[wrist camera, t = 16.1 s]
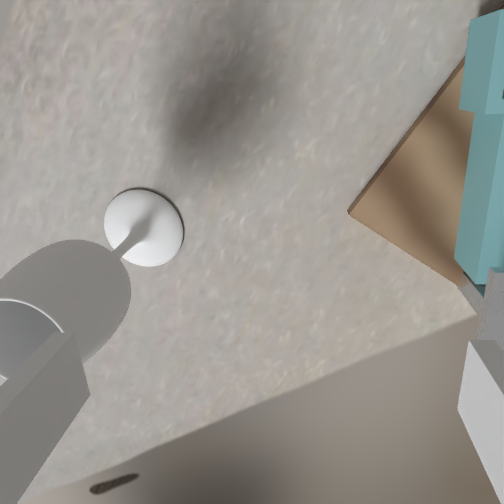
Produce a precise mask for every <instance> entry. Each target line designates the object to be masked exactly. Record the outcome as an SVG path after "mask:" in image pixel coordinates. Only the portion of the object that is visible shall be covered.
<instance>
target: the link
mask: <svg viewBox="0 0 504 504" xmlns="http://www.w3.org/2000/svg"><path fill="white" fill-rule="evenodd" d="M503 90H504V9H501V10H498V11H495V12H492V13H489V14H486V15H483V16H480V17H478V18H475V19H472V20H470V25H469V32H468V40H467V48H466V56H465V64H464V72H463V80H462V87H461V95H460V103H459V109H460V110H465V111H470V112H475V113H474V120H473V127H472V134H471V141H470V148H469V155H468V162H467V169H466V176H465V183H464V190H463V197H462V204H461V211H460V218H459V225H458V233H457V240H456V247H455V254H454V259H455V260H456V261H457V262H458V264H459V265H460V266H461V267H462V269H463V270H464V271H465V272H466V273H467V275H468V276H469V277H470V278H471V279H472V281H473V282H474V283H475V284H486V283H487V277H488V271H489V267H504V94H503Z"/></svg>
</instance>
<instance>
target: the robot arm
mask: <svg viewBox="0 0 504 504" xmlns="http://www.w3.org/2000/svg"><path fill="white" fill-rule="evenodd" d="M89 396H90V392H89V388H88V384H87V380H86V376H85V373H84V369H83V365H82V361H81V357H80V353H79V350H78V346H77V342H76V338H75V334H74V333H59V332H54V333H53V334H52V335H51V336H50V337H49V338H48V339H47V340H46V341H45V342H44V343H43V344H42V345H41V346H40V347H39V348H38V349H37V350H36V351H35V352H34V353H33V354H32V355H31V356H30V357H29V358H28V359H27V360H26V361H25V362H24V363H23V364H22V365H21V366H20V367H19V368H18V369H17V370H16V371H15V372H14V373H13V374H12V375H11V376H10V377H9V378H8V379H7V380H6V382H5V383H4V384H3V385H2V386H1V387H0V504H17V502H18V501H19V499H20V498H21V496H22V495H23V493H24V492H25V490H26V489H27V487H28V486H29V485H30V483H31V482H32V480H33V479H34V477H35V476H36V474H37V473H38V471H39V470H40V468H41V467H42V465H43V464H44V462H45V461H46V459H47V458H48V456H49V455H50V453H51V452H52V451H53V449H54V448H55V446H56V445H57V443H58V442H59V440H60V439H61V437H62V436H63V434H64V433H65V431H66V430H67V428H68V427H69V425H70V424H71V422H72V421H73V419H74V418H75V417H76V415H77V414H78V412H79V411H80V409H81V408H82V406H83V405H84V403H85V402H86V400H87V399H88V397H89ZM457 409H458V412H459V414H460V416H461V418H462V420H463V422H464V425H465V427H466V429H467V431H468V433H469V435H470V438H471V440H472V442H473V444H474V446H475V448H476V451H477V452H478V455H479V457H480V459H481V461H482V463H483V466H484V468H485V470H486V472H487V474H488V476H489V479H490V481H491V483H492V485H493V487H494V489H495V492H496V494H497V496H498V498H499V500H500V503H501V504H504V352H503V350H502V349H501V348H500V346H499V345H498V343H497V342H496V341H495V340H469V344H468V349H467V355H466V361H465V367H464V373H463V378H462V384H461V390H460V396H459V402H458V408H457Z"/></svg>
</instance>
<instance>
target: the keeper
mask: <svg viewBox="0 0 504 504" xmlns="http://www.w3.org/2000/svg"><path fill="white" fill-rule="evenodd" d="M456 286H457V285H456ZM457 287H458V288H459V290H460V291H461V293H462V294H463V295H464V297H465V298H466V299H467V301H468V302H469V304H470V305H471V306H472V308H473V309H474V310H475V312H476V313H477V315H478V316H479V317H480V322H479V328H478V333H477V339H476V340H495V341H496V342H497V343H498V345H499V346H500V348H501V349H502V350H503V352H504V267H489V271H488V277H487V283H486V284H475V283H474V282H473V281H472V279H471V278H470V277H469V276H468V275H467V273H463V276H462V282H461V287H459V286H457Z"/></svg>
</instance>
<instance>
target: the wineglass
mask: <svg viewBox="0 0 504 504" xmlns="http://www.w3.org/2000/svg"><path fill="white" fill-rule="evenodd" d="M104 228H105V233H106V236H107V238H108V241H109V242H110V244H111V246H112V247H113V248H114V250H113V251H112V252H111V251H110V250H108V249H107V248H105V247H103V246H102V245H99V244H97V243H94V242H90V241H86V240H65V241H60V242H57V243H54V244H51V245H49V246H46V247H44V248H42V249H40V250H38V251H37V252H35V253H33V254H32V255H30V256H28V257H27V258H25V259H24V260H23V261H21V262H20V263H18V264H17V265H16V266H15V267H14V268H12V269H11V270H10V271H9V272H8V273H7V274H6V275H5V276H4V277H3V278H2V279H1V280H0V376H1V377H3V378H4V379H6V380H7V379H8V378H9V377H10V376H11V375H12V374H13V373H14V372H15V371H16V370H17V369H18V368H19V367H20V366H21V365H22V364H23V363H24V362H25V361H26V360H27V359H28V358H29V357H30V356H31V355H32V354H33V353H34V352H35V351H36V350H37V349H38V348H39V347H40V346H41V345H42V344H43V343H44V342H45V341H46V340H47V339H48V338H49V337H50V336H51V335H52V334H53V333H54V332H59V333H74V334H75V338H76V342H77V346H78V350H79V353H80V357H81V361H82V365H83V364H84V363H85V362H87V361H88V360H89V359H90V358H91V357H92V356H93V355H95V354H96V353H97V352H98V351H99V350H100V349H101V348H102V347H103V346H104V345H105V344H106V343H107V341H108V340H109V339H110V338H111V337H112V335H113V334H114V333H115V331H116V330H117V328H118V327H119V325H120V324H121V322H122V320H123V319H124V317H125V315H126V313H127V310H128V308H129V304H130V300H131V283H130V278H129V275H128V272H127V270H126V268H125V266H124V265H123V263H122V262H121V261H120V258H121V257H123V258H124V259H126V260H128V261H129V262H131V263H134V264H137V265H140V266H158V265H161V264H164V263H166V262H168V261H169V260H171V259H172V258H173V257H174V256H175V255H176V254H177V252H178V251H179V249H180V247H181V244H182V240H183V227H182V223H181V220H180V217H179V215H178V213H177V212H176V210H175V209H174V207H173V206H172V205H171V204H170V203H169V202H168V201H167V200H166V199H164V198H163V197H161V196H160V195H158V194H156V193H153V192H150V191H147V190H129V191H126V192H123V193H121V194H119V195H118V196H116V197H115V198H114V199H113V200H112V201H111V202H110V204H109V205H108V207H107V209H106V212H105V217H104Z"/></svg>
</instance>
